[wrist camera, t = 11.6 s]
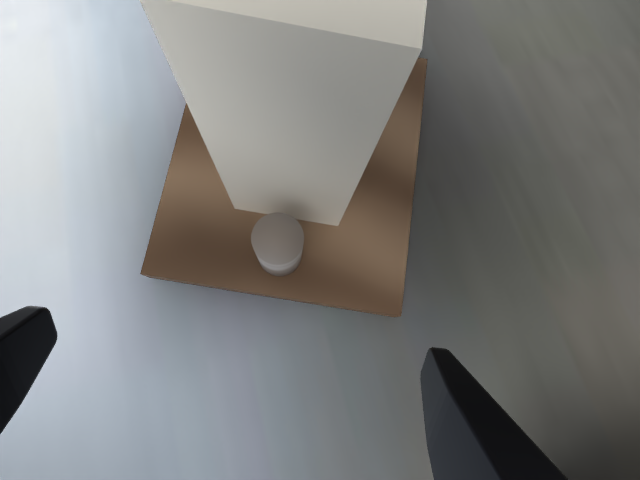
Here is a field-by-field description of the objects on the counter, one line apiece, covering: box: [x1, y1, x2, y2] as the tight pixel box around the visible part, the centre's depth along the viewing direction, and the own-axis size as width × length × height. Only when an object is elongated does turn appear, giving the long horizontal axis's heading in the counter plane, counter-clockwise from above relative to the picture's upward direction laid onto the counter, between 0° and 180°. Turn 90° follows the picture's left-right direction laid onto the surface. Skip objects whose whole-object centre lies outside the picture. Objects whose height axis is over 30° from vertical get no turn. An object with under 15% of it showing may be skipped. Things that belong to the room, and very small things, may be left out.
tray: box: [141, 58, 427, 317], centre depth 18 cm, size 14×12×5 cm
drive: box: [140, 0, 427, 226], centre depth 13 cm, size 6×5×12 cm
